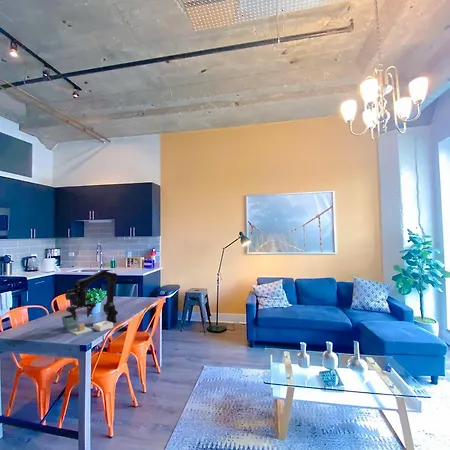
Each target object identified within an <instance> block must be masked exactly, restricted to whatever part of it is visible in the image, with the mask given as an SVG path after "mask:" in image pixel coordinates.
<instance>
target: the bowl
mask: <svg viewBox="0 0 450 450" xmlns="http://www.w3.org/2000/svg"><path fill="white" fill-rule="evenodd" d="M92 325H93V326H92V327H93V328H92V330H94V331H98V332H103V331H107V330H110V329H113V328H114V323H112V322H109V321H106V320H103V321H99V322H95V323H93V324H92Z"/></svg>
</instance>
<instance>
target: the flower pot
mask: <svg viewBox="0 0 450 450" xmlns="http://www.w3.org/2000/svg"><path fill="white" fill-rule="evenodd" d="M61 320H62V321H61V322H62V325H63V328H65V329H66V330H73V329H76V327H77V326H78V324H79V315H77V314H76V320H74V319H73V316H72V314H69V315H65V316H61Z"/></svg>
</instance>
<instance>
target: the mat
mask: <svg viewBox="0 0 450 450" xmlns="http://www.w3.org/2000/svg"><path fill="white" fill-rule="evenodd" d="M94 331H95V329H92V331H89V332H86V333H82V334H79V335H76V334H73V333H71V332H70V331H68V332H67V333H68V334H70V335H73V336H75V337H77V336H80V335H84V334H87V333H90V332H94Z"/></svg>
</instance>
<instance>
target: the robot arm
mask: <svg viewBox="0 0 450 450" xmlns="http://www.w3.org/2000/svg"><path fill="white" fill-rule="evenodd" d="M102 277H103V278H106V283H107V294H106V303H105V304H103V307H102V310H103V312H104V313H105V315H106V320H105V321H109V322H112V323H113V324H115V323H117V322H118V321H117V315H118V312H119V311H117V310H116V304H115V303H114V295H115V285H116V282H117V281H118V274H117V273H115V272H110V271H107V270H104V269H103V270H102V269H101V270H100V271H98V272H96V273H94V274H91V275H89V277H85V278H81V279H78V280H76V282H75V284H74V286H73V287H72V289H67V291H66V293H65V295H64V296H65V300H66V301H70V306H67V307H66V312H68V313H70V315H72V316H73V319H74V320H76V315H77V311H76V310H79V309H83V308H84V309H85V308H86V317H87V318H89V317H90V315H91V313H92V310H94V308H95V307H96V306H97V305H96V303H95V302H93V301H91V302H87V291H90V289H89V288H88V287H89V285H90V284H91V283H93V282H95V281H97V280H98V279H101V278H102ZM75 299H76V300H75Z"/></svg>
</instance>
